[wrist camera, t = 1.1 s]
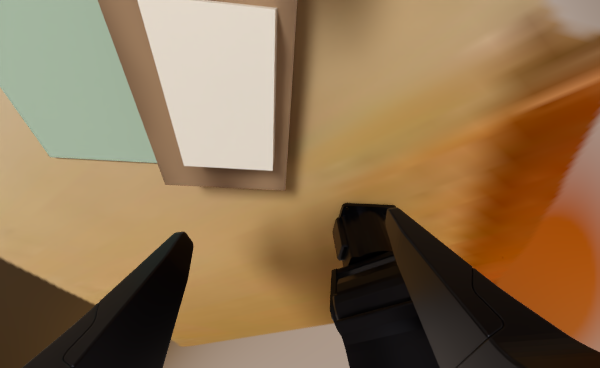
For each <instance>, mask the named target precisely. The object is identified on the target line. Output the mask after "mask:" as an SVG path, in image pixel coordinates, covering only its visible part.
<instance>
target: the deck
mask: <svg viewBox="0 0 600 368" xmlns="http://www.w3.org/2000/svg"><path fill="white" fill-rule="evenodd" d="M209 1H218V2H228V3H237V4H246V5H255V6H264V7H273V8H278V9H277V57H276V106H275V154H274V164H273V171H267V170H249V169H231V168H213V167H195V166H184V164H183V160H182V157H181V153H180V150H179V146H178V143H177V139H176V136H175V132H174V128H173V125H172V121H171V118H170V114H169V111H168V107H167V104H166V100H165V97H164V93H163V89H162V86H161V82H160V79H159V75H158V72H157V68H156V65H155V61H154V58H153V54H152V50H151V47H150V43H149V40H148V36H147V33H146V29H145V26H144V22H143V18H142V15H141V11H140V8H139V4H138V1H137V0H98V3H99V5H100V8H101V11H102V14H103V16H104V19H105V22H106V25H107V27H108V30H109V33H110V35H111V38H112V41H113V44H114V46H115V49H116V52H117V54H118V57H119V60H120V63H121V65H122V68H123V71H124V74H125V76H126V79H127V82H128V84H129V87H130V90H131V93H132V95H133V98H134V101H135V103H136V106H137V109H138V112H139V114H140V117H141V120H142V122H143V125H144V128H145V131H146V133H147V136H148V139H149V142H150V144H151V147H152V150H153V152H154V155H155V158H156V161H157V163H158V166H159V169H160V171H161V174H162V177H163V180H164V182H165V185H182V186H203V187H223V188H244V189H264V190H284V191H285V188H286V172H287V156H288V140H289V125H290V109H291V93H292V77H293V61H294V45H295V29H296V13H297V0H209Z"/></svg>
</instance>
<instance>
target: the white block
mask: <svg viewBox="0 0 600 368" xmlns="http://www.w3.org/2000/svg"><path fill="white" fill-rule="evenodd" d="M137 1H138V4H139V8H140V11H141V15H142V18H143V22H144V26H145V29H146V33H147V36H148V40H149V43H150V47H151V50H152V54H153V58H154V61H155V65H156V68H157V72H158V75H159V79H160V82H161V86H162V89H163V93H164V97H165V100H166V104H167V107H168V111H169V114H170V118H171V121H172V125H173V128H174V132H175V136H176V139H177V143H178V146H179V150H180V153H181V157H182V160H183V164H184V166H195V167H213V168H231V169H249V170H267V171H273V164H274V154H275V106H276V57H277V9H278V8H273V7H264V6H255V5H246V4H237V3H228V2H218V1H209V0H137Z"/></svg>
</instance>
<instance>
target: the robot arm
mask: <svg viewBox="0 0 600 368" xmlns="http://www.w3.org/2000/svg"><path fill="white" fill-rule="evenodd" d="M346 207H347V208H346ZM333 236H334V242H335V248H336V254H337V259H338V260H342V262H343V267H342V268H340V269H334V270H332V277H331V295H330V312H331V317H332V319H333V320H334V323H335V326H336V328H337V330H338V332H339V333H340V335H341V336H342V339H343V342H344V345H345V349H346V353H347V357H348V362H349V366H350V368H600V352H598V351H596V350H594V349H592V348H590V347H588V346H586V345H584V344H582V343H580V342H579V341H577V340H575V339H573V338H572V337H570V336H568V335H567V334H566V333H564V332H562V331H561V330H559V329H558V328H557V327H555V326H554V325H552V324H551V323H549V322H548V321H546V320H545V319H543V318H542V317H540V316H539V315H538V314H536V313H535V312H533V311H532V310H530V309H529V308H527V307H526V306H525V305H523V304H522V303H520V302H519V301H517V300H516V299H514V298H513V297H511V296H510V295H509V294H507V293H506V292H505V291H503V290H502V289H500V288H499V287H498V286H496V285H495V284H494V283H492V282H491V281H490V280H489V279H487V278H486V277H485V276H483V275H482V274H481V273H480V272H478V271H477V270H476V269H474V268H472V266H471V265H469V264H468V263H467V262H466V261H464V260H463V259H462V258H461V257H459V256H458V255H457V254H456V253H454V252H453V251H452V250H451V249H449V248H448V247H447V246H446V245H444V244H443V243H442V242H441V241H439V240H438V239H437V238H435V237H434V236H433V235H432V234H430V233H429V232H428V231H427V230H425V229H424V228H423V227H422V226H420V225H419V224H418V223H417V222H415V221H414V220H413V219H412V218H410V217H409V216H408V215H407V214H405V213H404V212H403V211H402V210H400V209H399V208H396V206H394V205H377V204H355V203H345V204H343V205H342V208H341V211H340V215H339V218H337V219H336V222H335V225H334V229H333ZM192 252H193V242H192V241H191V239H190V238H189V236H188V235H187V234H186V233H185V232H176V233H174V234H173V235H172V236H171V237H170V238H168V239H167V240H166V241H165V242H164V243H163V244H162V245H161V246H160V247H159V248H158V249H156V250H155V251H154V252H153V253H152V254H151V255H150V256H149V257H148V258H147V259H146V260H144V261H143V262H142V263H141V264H140V265H139V266H138V267H137V268H136V269H135V270H133V271H132V272H131V273H130V274H129V275H128V276H127V277H126V278H125V279H124V280H123V281H121V282H120V283H119V284H118V285H117V286H116V287H115V288H114V289H113V290H112V291H110V292H109V293H108V294H107V295H106V296H105V297H104V298H103V299H102V300H101V301H100V302H99V303H97V304H96V305H95V306H94V307H93V308H92V309H91V310H90V311H89V312H87V313H86V314H85V315H84V316H83V317H82V318H81V319H80V320H79V321H77V322H76V323H75V324H74V325H73V326H72V327H70V328H69V329H68V330H67V331H66V332H65V333H63V334H62V335H61V336H60V337H59V338H57V339H56V340H55V341H54V342H53V343H51V344H50V345H49V346H48V347H47V348H45V349H44V350H43V351H42V352H41V353H39V354H38V355H37V356H36V357H35V358H33V359H32V360H31V361H30V362H29V363H27V364H26V365H25V366H24V367H22V368H163V364H164V361H165V357H166V354H167V350H168V347H169V343H170V340H171V336H172V333H173V329H174V326H175V322H176V319H177V315H178V312H179V308H180V305H181V301H182V298H183V294H184V291H185V287H186V284H187V280H188V275H189V270H190V264H191V258H192Z"/></svg>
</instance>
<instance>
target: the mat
mask: <svg viewBox="0 0 600 368" xmlns="http://www.w3.org/2000/svg"><path fill="white" fill-rule="evenodd" d="M0 87H1V89H2V90H3V91H4V93H5V94H6V96H7V97H8V98H9V100H10V101H11V103H12V104H13V105H14V107H15V108H16V110H17V111H18V113H19V114H20V115H21V117H22V118H23V120H24V121H25V122H26V124H27V125H28V127H29V128H30V129H31V131H32V132H33V134H34V135H35V136H36V138H37V139H38V141H39V142H40V144H41V145H42V146H43V148H44V149H45V151H46V152H47V153H48V155H49V156H50V157H58V158H76V159H94V160H112V161H130V162H148V163H157V161H156V158H155V155H154V152H153V150H152V147H151V144H150V142H149V139H148V136H147V133H146V131H145V128H144V125H143V122H142V120H141V117H140V114H139V112H138V109H137V106H136V103H135V101H134V98H133V95H132V93H131V90H130V87H129V84H128V82H127V79H126V76H125V74H124V71H123V68H122V65H121V63H120V60H119V57H118V54H117V52H116V49H115V46H114V44H113V41H112V38H111V35H110V33H109V30H108V27H107V25H106V22H105V19H104V16H103V14H102V11H101V8H100V5H99V3H98V0H0Z"/></svg>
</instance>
